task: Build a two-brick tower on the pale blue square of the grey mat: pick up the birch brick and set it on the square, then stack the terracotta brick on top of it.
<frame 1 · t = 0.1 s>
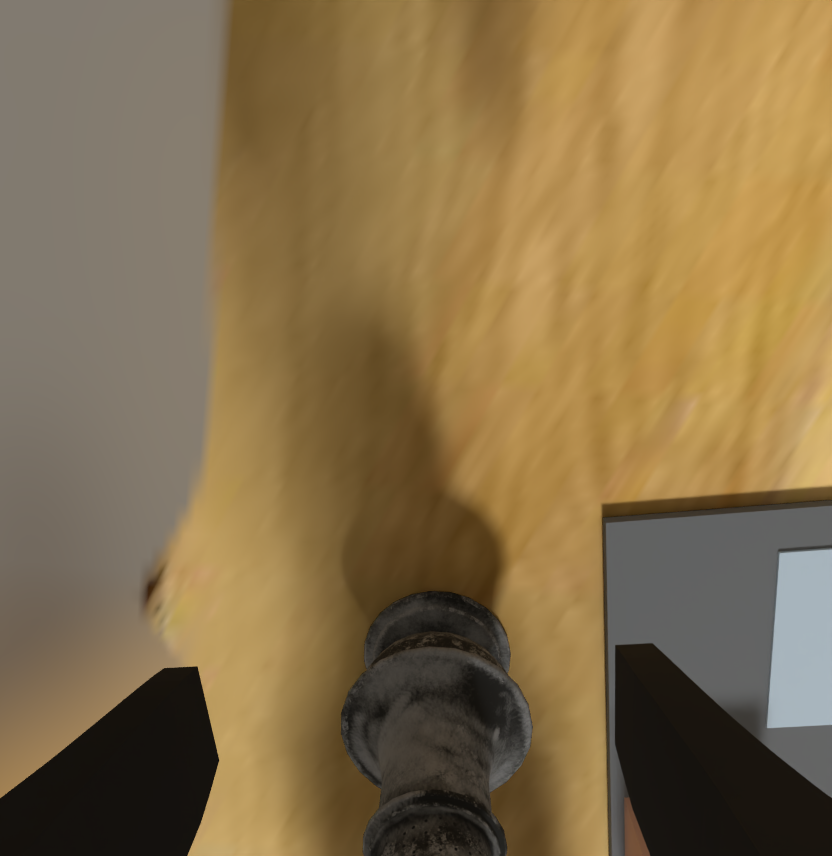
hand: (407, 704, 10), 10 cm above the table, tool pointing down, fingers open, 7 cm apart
grey mat: (827, 747, 22), on the table
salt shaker: (436, 651, 22), on the table
terracotta brick: (690, 844, 23), resting on grey mat
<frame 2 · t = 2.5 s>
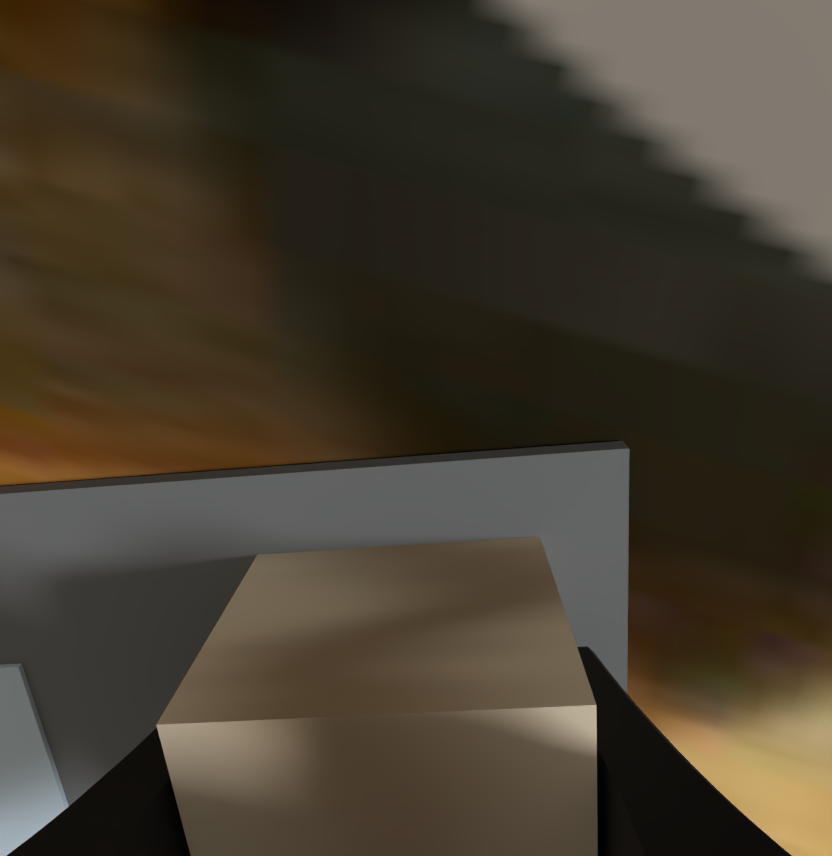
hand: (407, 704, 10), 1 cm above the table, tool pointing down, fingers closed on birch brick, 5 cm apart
grey mat: (156, 821, 13), on the table
birch brick: (410, 665, 11), resting on grey mat, touching gripper
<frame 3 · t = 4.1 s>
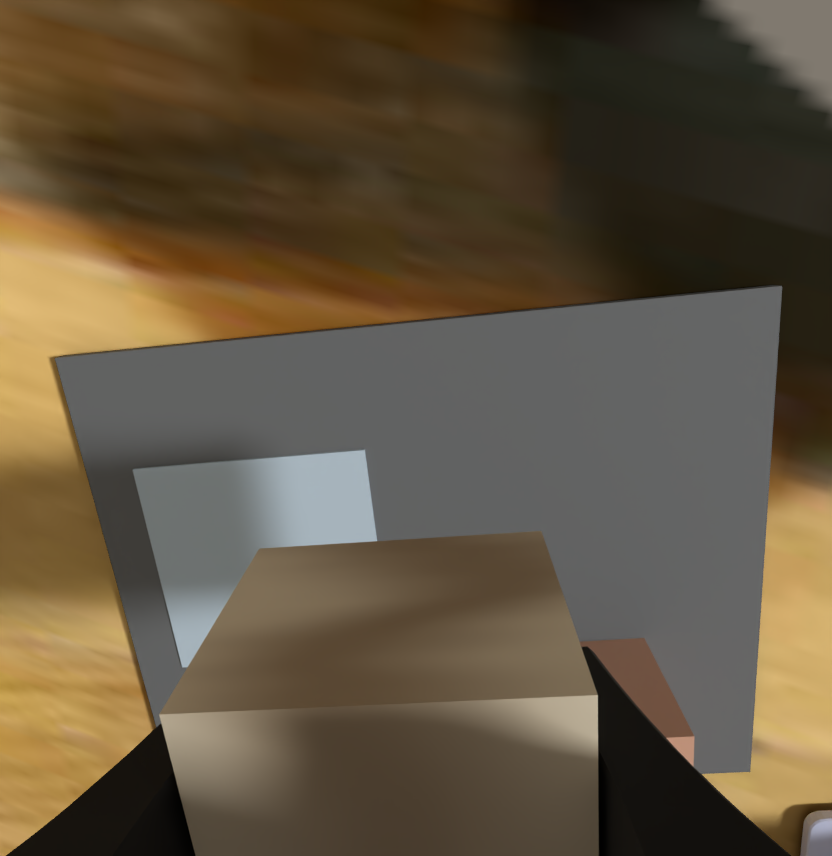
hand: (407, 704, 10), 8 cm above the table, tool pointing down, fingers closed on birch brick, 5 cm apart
grey mat: (431, 575, 19), on the table
birch brick: (411, 659, 11), point 7 cm above the table, touching gripper
terracotta brick: (566, 707, 20), resting on grey mat
when the fingers open (2 cm above the table, at t = 6.1 s): birch brick stays where it is, resting on grey mat.
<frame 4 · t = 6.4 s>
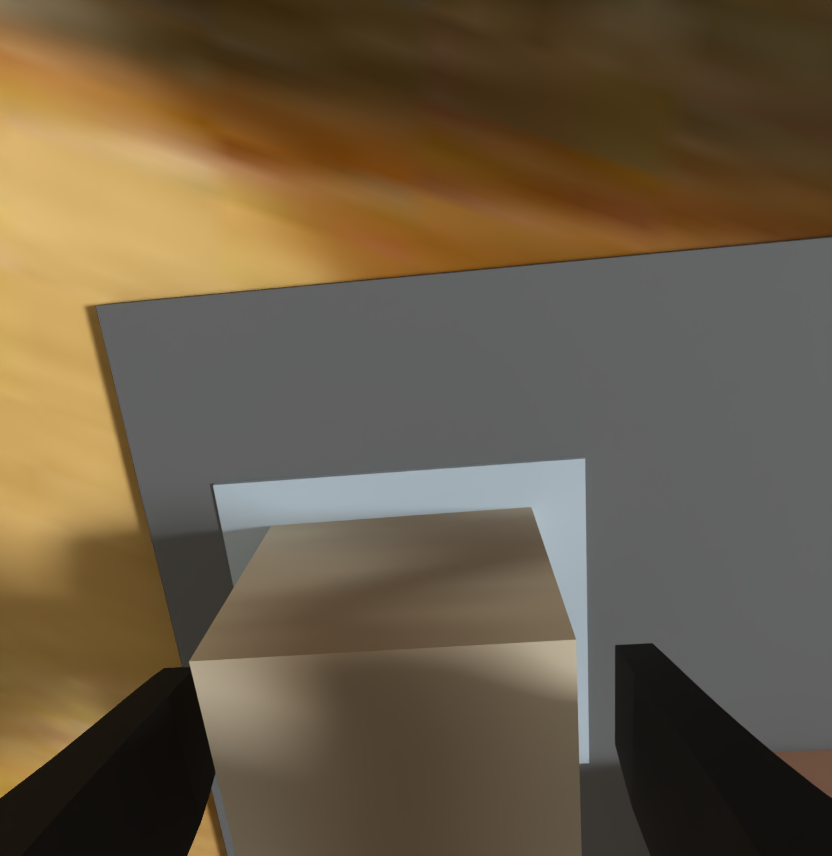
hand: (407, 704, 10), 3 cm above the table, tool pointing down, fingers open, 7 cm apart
grey mat: (654, 646, 13), on the table
birch brick: (412, 628, 12), resting on grey mat
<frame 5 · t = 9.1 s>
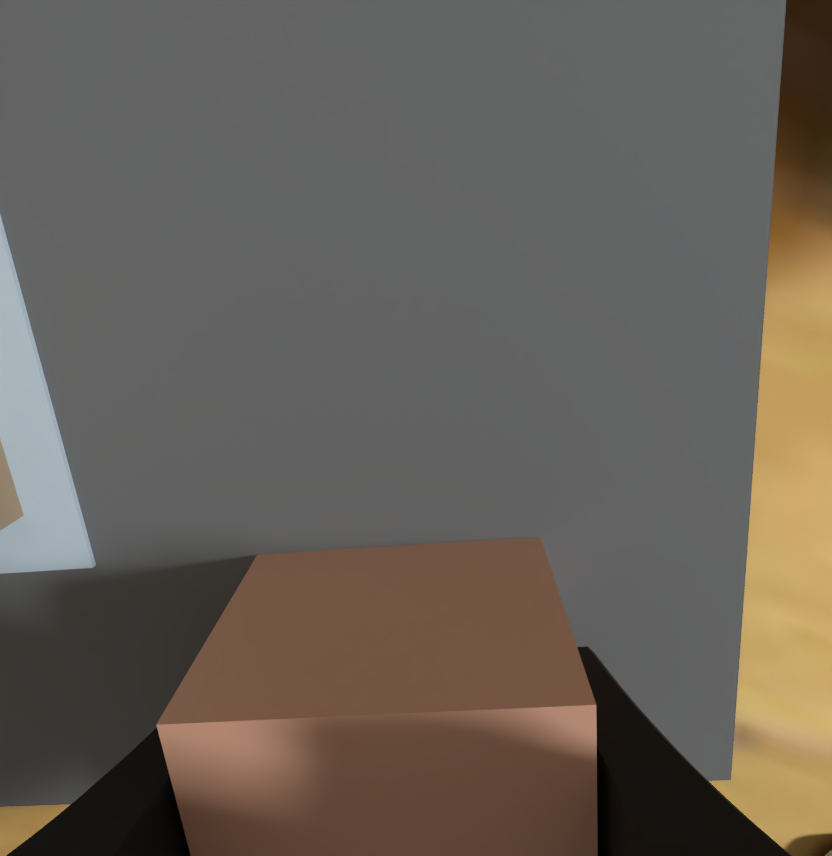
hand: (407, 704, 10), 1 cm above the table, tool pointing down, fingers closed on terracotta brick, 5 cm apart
grey mat: (156, 420, 11), on the table
terracotta brick: (410, 665, 11), resting on grey mat, touching gripper
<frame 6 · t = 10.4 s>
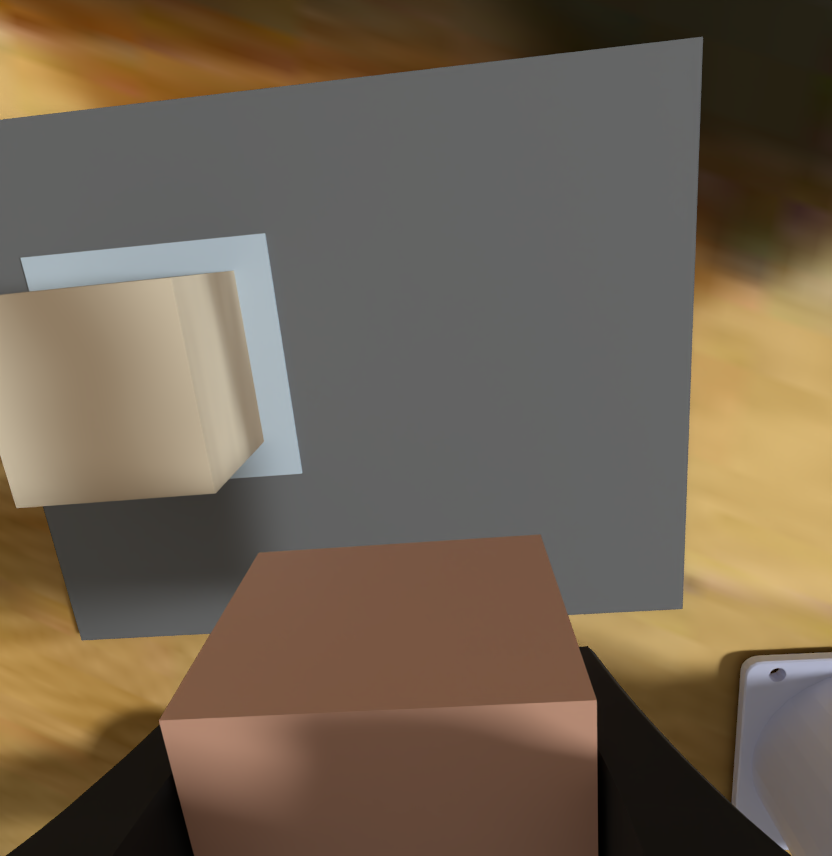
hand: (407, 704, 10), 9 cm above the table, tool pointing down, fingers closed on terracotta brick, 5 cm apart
grey mat: (342, 386, 18), on the table
birch brick: (166, 367, 18), resting on grey mat
terracotta brick: (410, 663, 11), point 8 cm above the table, touching gripper
when the fingers open (7 cm above the table, at t = 11.9 s): terracotta brick stays where it is, resting on birch brick.
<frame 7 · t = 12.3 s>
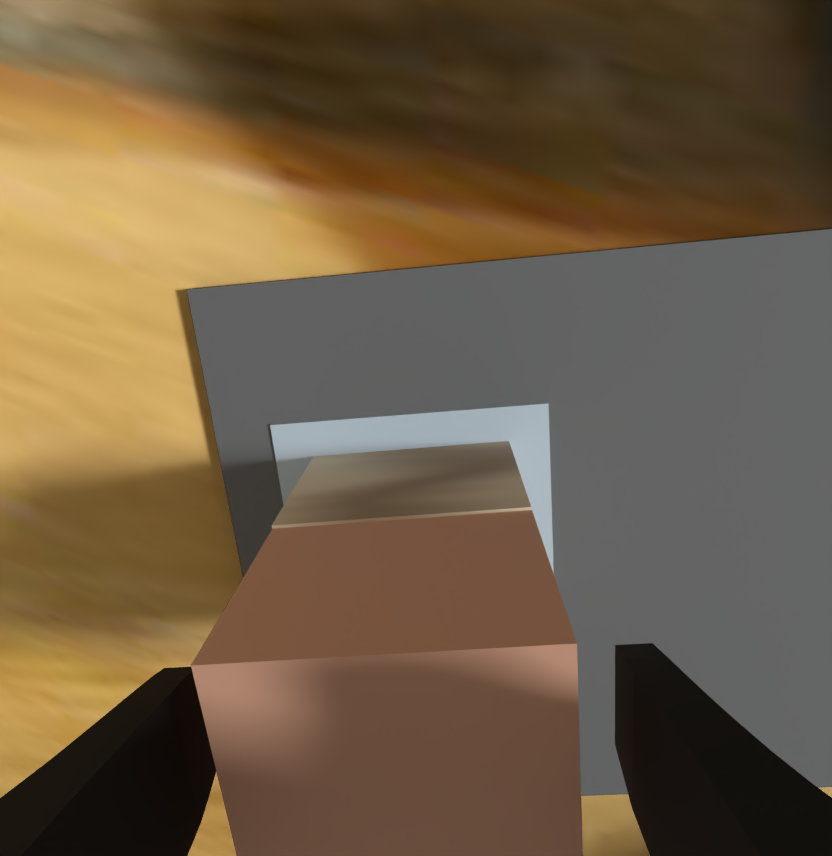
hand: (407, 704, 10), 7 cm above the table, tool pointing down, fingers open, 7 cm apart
grey mat: (605, 553, 17), on the table
birch brick: (419, 537, 16), resting on grey mat, touching terracotta brick
terracotta brick: (413, 631, 12), point 4 cm above the table, touching birch brick
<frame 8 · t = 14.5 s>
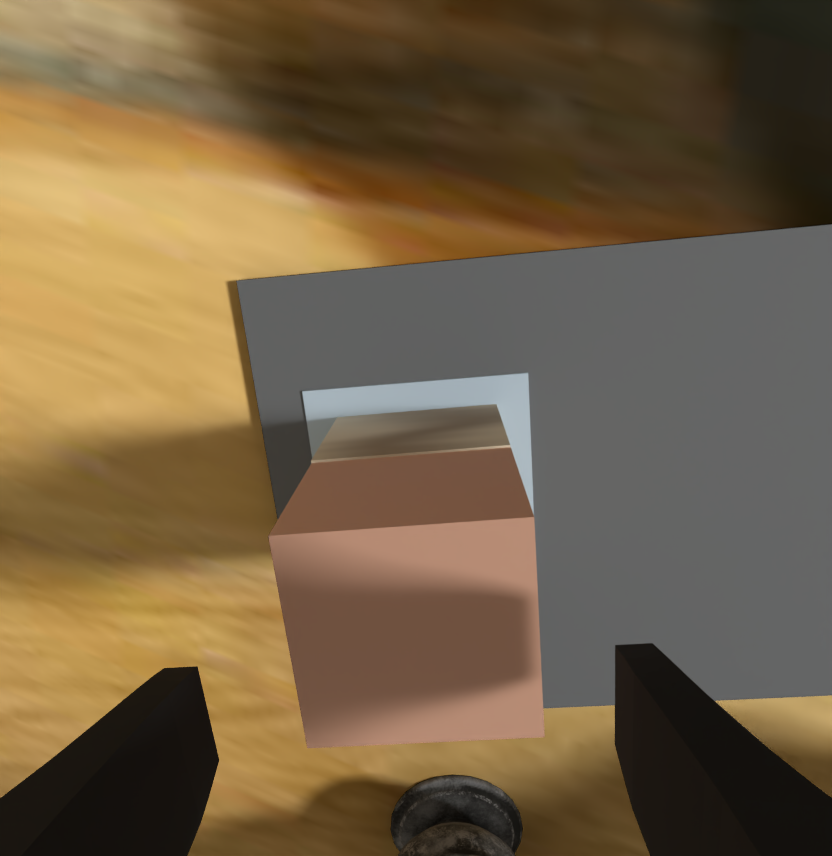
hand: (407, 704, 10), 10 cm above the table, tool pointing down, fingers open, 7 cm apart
grey mat: (577, 499, 20), on the table
birch brick: (423, 484, 20), resting on grey mat, touching terracotta brick
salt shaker: (456, 822, 25), on the table
terracotta brick: (419, 545, 16), point 4 cm above the table, touching birch brick
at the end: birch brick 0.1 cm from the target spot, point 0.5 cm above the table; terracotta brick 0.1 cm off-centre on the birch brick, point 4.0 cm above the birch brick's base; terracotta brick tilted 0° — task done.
